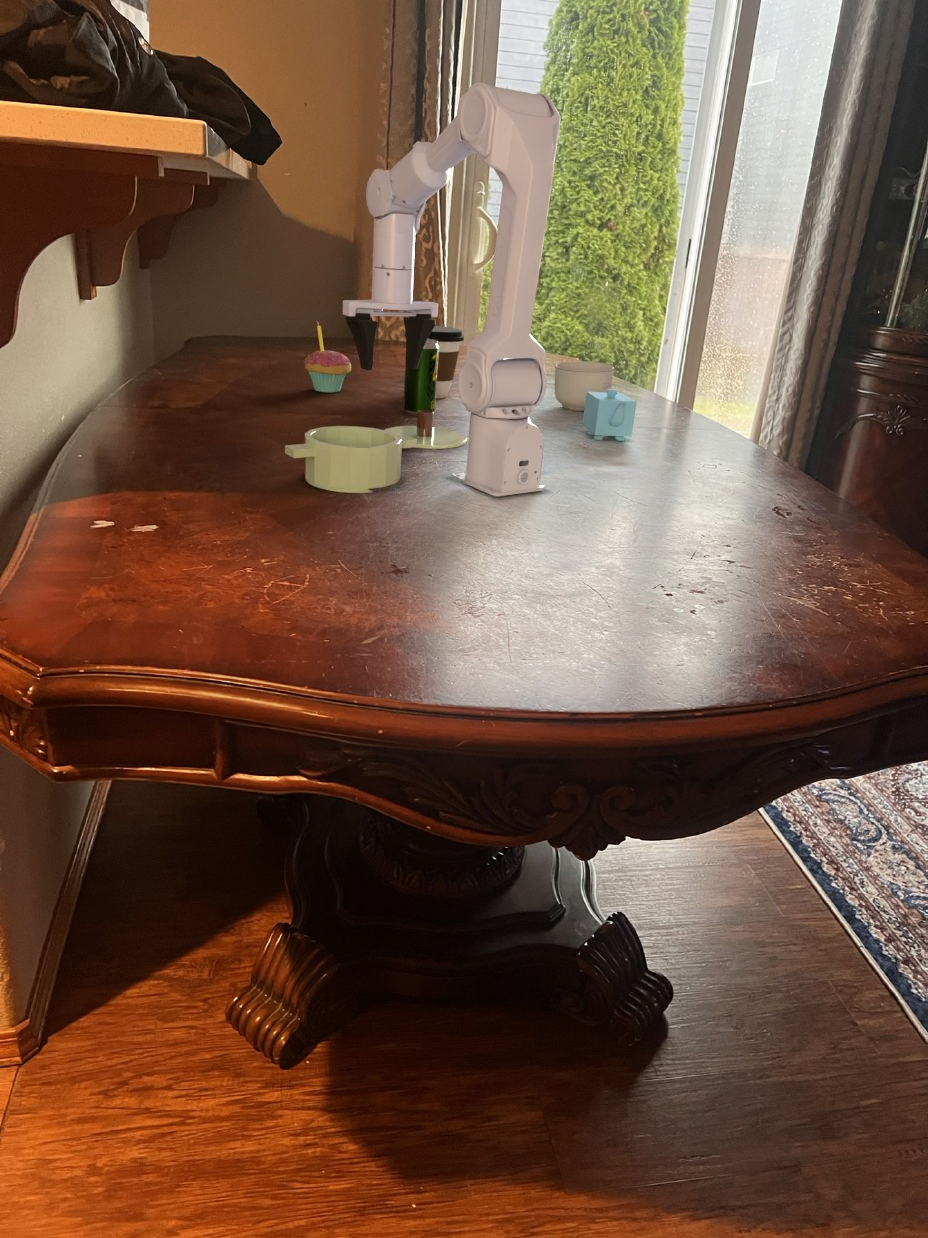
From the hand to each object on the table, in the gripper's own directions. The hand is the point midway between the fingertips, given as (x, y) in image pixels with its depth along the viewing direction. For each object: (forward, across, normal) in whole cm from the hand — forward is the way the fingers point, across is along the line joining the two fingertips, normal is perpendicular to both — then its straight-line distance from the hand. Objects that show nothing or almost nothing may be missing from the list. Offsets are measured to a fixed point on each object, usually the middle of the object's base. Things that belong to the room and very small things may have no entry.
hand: (389, 368), depth 130 cm
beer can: (+10, -14, -13) cm, 22 cm away
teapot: (+10, -35, +11) cm, 38 cm away
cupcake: (+10, -8, -36) cm, 39 cm away
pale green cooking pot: (+10, +16, +19) cm, 27 cm away
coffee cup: (+10, -26, -28) cm, 39 cm away
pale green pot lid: (+9, -4, +5) cm, 11 cm away
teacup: (+10, -48, -11) cm, 50 cm away
